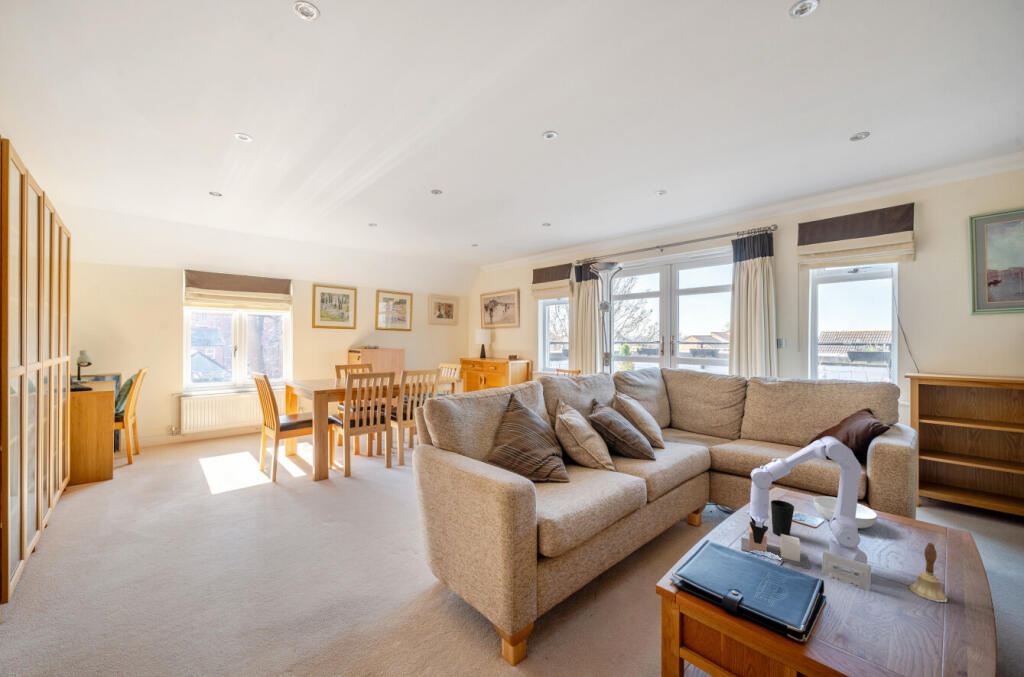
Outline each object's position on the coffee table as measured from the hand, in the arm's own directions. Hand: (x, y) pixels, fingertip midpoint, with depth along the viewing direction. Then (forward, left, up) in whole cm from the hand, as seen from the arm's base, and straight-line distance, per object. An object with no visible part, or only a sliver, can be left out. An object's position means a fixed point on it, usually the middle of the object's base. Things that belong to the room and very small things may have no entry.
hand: (757, 538), depth 146 cm
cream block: (-7, -7, -3) cm, 10 cm away
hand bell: (-32, -32, -4) cm, 45 cm away
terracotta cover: (0, 0, -3) cm, 3 cm away
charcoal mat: (-4, -4, -4) cm, 6 cm away
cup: (+7, -19, -4) cm, 21 cm away
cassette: (-22, -12, -4) cm, 25 cm away
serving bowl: (+10, -56, -4) cm, 57 cm away
